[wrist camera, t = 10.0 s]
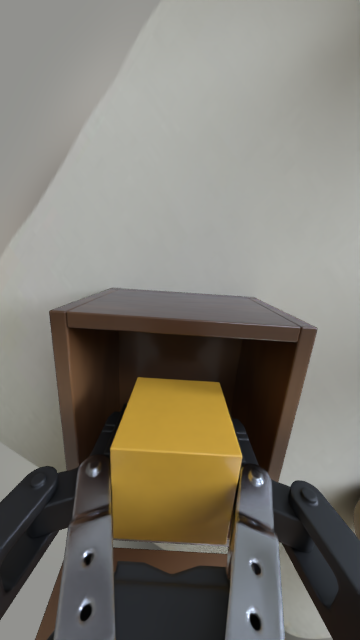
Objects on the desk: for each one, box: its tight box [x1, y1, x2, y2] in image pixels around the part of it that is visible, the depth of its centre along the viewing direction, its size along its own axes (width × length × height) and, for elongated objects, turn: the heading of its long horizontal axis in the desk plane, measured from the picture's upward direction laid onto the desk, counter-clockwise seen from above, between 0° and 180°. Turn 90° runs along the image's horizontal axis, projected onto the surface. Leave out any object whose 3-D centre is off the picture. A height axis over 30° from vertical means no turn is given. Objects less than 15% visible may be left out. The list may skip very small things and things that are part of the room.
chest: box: [49, 288, 317, 547], centre depth 16 cm, size 16×13×9 cm
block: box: [110, 377, 242, 545], centre depth 11 cm, size 5×5×5 cm
